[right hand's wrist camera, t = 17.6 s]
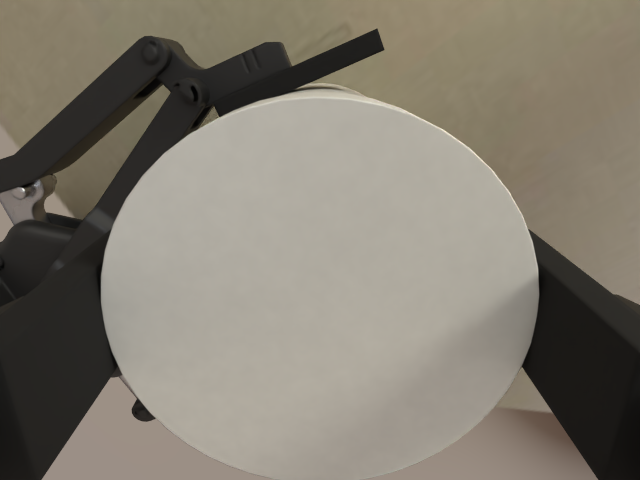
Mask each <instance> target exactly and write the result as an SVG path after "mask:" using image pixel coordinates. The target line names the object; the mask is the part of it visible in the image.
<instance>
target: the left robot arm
mask: <svg viewBox="0 0 640 480" xmlns="http://www.w3.org/2000/svg"><path fill="white" fill-rule="evenodd" d="M383 50H384V47H383V44H382V41H381V38H380V35H379V32H378V29H375V30H373V31H371V32H368V33H366V34H364V35H362V36H359V37H357V38H355V39H353V40H351V41H348V42H346V43H344V44H342V45H339V46H337V47H335V48H333V49H330V50H328V51H326V52H324V53H322V54H319V55H317V56H315V57H313V58H310V59H308V60H306V61H304V62H301V63H299V64H297V65H295V66H292V65H291V62H290V60H289V57H288V55H287V52H286V50H285V48H284V45H283V44H282V43H281V42H265V43H263V44H261V45H259V46H256V47H254V48H252V49H250V50H248V51H246V52H243V53H242V54H239V55H237V56H235V57H233V58H230V59H228V60H226V61H224V62H222V63H219V64H217V65H215V66H213V67H211V68H208V69H204V68H201V67H200V66H198V65H197V64H196V63H195V62H194V61H193V60H192V59H191V58H190V57H189V56H188V55H187V54H186V53H185V51H184V49H183V47H182V46H181V45H180V44H179V43H178V42H176V41H173V40H170V39H164V38H159V37H154V36H144V37H143V38H141V39H139V40H138V41H137V42H136V43H135V44H134V45H133V46H131V47H130V48H129V49H128V50H127V51H126V52H125V53H124V54H123V55H122V56H121V57H120V58H118V59H117V60H116V61H115V62H114V63H113V64H112V65H111V66H110V67H109V68H108V69H107V70H105V71H104V72H103V73H102V74H101V75H100V76H99V77H98V78H97V79H96V80H95V81H94V82H92V83H91V84H90V85H89V86H88V87H87V88H86V89H85V90H84V91H83V92H82V93H81V94H79V95H78V96H77V97H76V98H75V99H74V100H73V101H72V102H71V103H70V104H69V105H68V106H66V107H65V108H64V109H63V110H62V111H61V112H60V113H59V114H58V115H57V116H56V117H55V118H53V119H52V120H51V121H50V122H49V123H48V124H47V125H46V126H45V127H44V128H43V129H42V130H40V131H39V132H38V133H37V134H36V135H35V136H34V137H33V138H32V139H31V140H30V141H29V142H27V143H26V144H25V145H24V146H23V147H22V148H21V149H20V150H19V151H18V152H17V153H16V154H14V155H12V156H9V157H6V158H3V159H0V202H1V204H2V205H3V207H4V209H5V211H6V212H7V214H8V216H9V218H10V219H11V221H12V223H13V224H14V226H13V227H12V228H11V229H10V230H9V232H8V234H7V236H6V237H5V239H4V240H3V241H2V242H0V307H1V306H3V305H5V304H7V303H10V302H12V301H14V300H16V299H18V298H20V297H22V296H25V295H27V294H28V293H29V292H30V291H32V290H33V289H34V288H36V287H37V286H38V285H39V284H41V283H42V282H43V281H45V280H46V279H47V278H48V277H50V276H51V275H52V274H54V273H55V272H56V271H58V270H59V269H60V268H61V267H63V266H64V265H65V264H67V263H68V262H69V261H70V260H72V259H73V258H74V257H76V256H77V255H78V254H80V253H81V252H82V251H83V250H85V249H86V248H87V247H89V246H90V245H91V244H92V243H94V242H95V241H96V240H98V239H99V238H100V237H101V236H103V235H104V234H105V233H107V232H108V231H109V230H111V229H112V227H113V224H114V222H115V220H116V218H117V216H118V214H119V212H120V210H121V208H122V206H123V204H124V202H125V200H126V198H127V197H128V195H129V194H130V193H131V191H132V190H133V188H134V187H135V186H136V184H137V183H138V181H139V180H140V179H141V177H142V176H143V175H144V174H145V172H146V171H147V170H148V169H149V168H150V167H151V166H152V165H153V164H154V163H155V162H156V161H157V160H158V159H159V158H160V157H161V156H162V155H163V154H164V153H165V152H166V151H168V150H169V149H170V148H172V147H173V146H174V145H176V144H177V143H178V142H180V141H181V140H182V139H183V138H185V137H186V136H187V135H189V134H190V133H192V132H194V131H196V130H197V129H198V128H199V126H200V125H201V124H202V122H203V121H204V119H205V118H206V116H207V115H208V114H209V112H210V111H211V109H212V108H213V107H215V109H216V111H217V113H218V115H219V117H221V116H223V115H225V114H228V113H230V112H232V111H234V110H236V109H239V108H242V107H244V106H247V105H249V104H252V103H255V102H257V101H260V100H265V99H269V98H273V97H277V96H281V95H283V94H285V93H288V92H290V91H292V90H294V89H297V88H299V87H301V86H304V85H306V84H308V83H310V82H313V81H315V80H317V79H319V78H322V77H324V76H326V75H329V74H331V73H333V72H335V71H338V70H340V69H342V68H344V67H347V66H349V65H351V64H354V63H356V62H358V61H360V60H363V59H365V58H367V57H369V56H372V55H374V54H376V53H379V52H381V51H383ZM162 85H164V86H165V87H166V88H167V89H168V90H169V91H170V92H171V93H170V95H169V96H168V98H167V99H166V101H165V102H164V104H163V105H162V107H161V108H160V110H159V111H158V113H157V114H156V116H155V117H154V119H153V120H152V122H151V123H150V125H149V126H148V128H147V129H146V131H145V132H144V134H143V136H142V137H141V139H140V140H139V142H138V143H137V145H136V146H135V148H134V149H133V151H132V152H131V154H130V155H129V157H128V158H127V160H126V161H125V163H124V164H123V166H122V167H121V169H120V170H119V172H118V173H117V175H116V176H115V178H114V179H113V181H112V182H111V184H110V185H109V187H108V188H107V190H106V191H105V193H104V194H103V196H102V197H101V199H100V200H99V202H98V203H97V205H96V206H95V207H94V209H93V210H92V211H91V212H90V213H89V214H88V215H87V216H86V217H85V218H84V219H83V220H80V219H76V218H71V217H66V216H62V215H57V214H53V213H46V212H45V209H44V201H45V199H46V198H47V197H48V196H49V195H51V194H52V193H53V192H54V190H55V184H56V183H57V179H56V177H55V176H54V175H53V174H54V173H56V172H59V171H61V170H63V169H65V168H66V167H68V166H70V165H71V164H72V163H74V162H75V161H76V160H78V159H79V158H80V157H81V156H82V155H83V154H84V153H85V152H87V151H88V150H89V149H90V148H91V147H92V146H93V145H95V144H96V143H97V142H98V141H99V140H100V139H101V138H103V137H104V136H105V135H106V134H107V133H108V132H109V131H111V130H112V129H113V128H114V127H115V126H116V125H117V124H118V123H120V122H121V121H122V120H123V119H124V118H125V117H126V116H128V115H129V114H130V113H131V112H132V111H133V110H134V109H136V108H137V107H138V106H139V105H140V104H141V103H142V102H143V101H145V100H146V99H147V98H148V97H149V96H150V95H151V94H153V93H154V92H155V91H156V90H157V89H158V88H159V87H161V86H162ZM118 376H119V378H120V379H121V380H122V381H123V382H124V384H125V385H126V386H127V387H128V388H129V390H130V391H131V392H132V393H133V394H134V392H133V391H132V389H131V387H130V386H129V384H128V383H127V381H126V379H125V378H124V376H123V375H122V373H121V371H120V369H119V366H118V367H117V368H116V370H115V371H114V373H113V374H112V376H111V377H118ZM134 396H135V397H136V398H137V400H136V402H135V404H134V406H133V408H132V414H133V416H134V417H135V418H136V419H138V420H140V421H146V422H147V421H151V420H153V419H156V418H155V417H154V416H153V415H152V414H151V413H150V412H149V411H148V410H147V408H146V407H145V406H144V405H143V404H142V402H141V401H140V400H139V399H138V397H137V396H136V395H135V394H134Z"/></svg>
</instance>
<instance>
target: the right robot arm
mask: <svg viewBox="0 0 640 480" xmlns="http://www.w3.org/2000/svg"><path fill="white" fill-rule="evenodd" d="M111 230H112V229H111ZM111 230H109V231H108V232H107V233H105V234H104V235H103V236H101V237H100V238H99V239H98V240H96V241H95V242H94V243H92V244H91V245H90V246H89V247H87V248H86V249H85V250H83V251H82V252H81V253H80V254H78V255H77V256H76V257H74V258H73V259H72V260H70V261H69V262H68V263H67V264H65V265H64V266H63V267H61V268H60V269H59V270H58V271H56V272H55V273H54V274H52V275H51V276H50V277H48V278H47V279H46V280H45V281H43V282H42V283H41V284H39V285H38V286H37V287H36V288H34V289H33V290H32V291H30V292H29V293H28V294H27V295H25V296H22V297H20V298H18V299H16V300H14V301H12V302H10V303H7V304H5V305H3V306H1V307H0V480H41V479H42V478H43V476H44V475H45V474H46V472H47V471H48V469H49V468H50V466H51V465H52V463H53V462H54V460H55V459H56V457H57V456H58V454H59V453H60V451H61V450H62V448H63V447H64V445H65V444H66V442H67V441H68V439H69V438H70V437H71V435H72V434H73V432H74V431H75V429H76V428H77V426H78V425H79V423H80V422H81V420H82V419H83V417H84V416H85V414H86V413H87V411H88V410H89V408H90V407H91V405H92V404H93V402H94V401H95V399H96V398H97V397H98V395H99V394H100V392H101V390H102V389H103V388H104V386H105V385H106V383H107V382H108V380H109V379H110V377H111V376H112V374H113V373H114V371H115V370H116V368H117V367H118V364H117V362H116V360H115V358H114V355H113V353H112V351H111V348H110V344H109V341H108V338H107V334H106V330H105V325H104V320H103V314H102V307H101V272H102V266H103V260H104V254H105V249H106V245H107V242H108V239H109V236H110V233H111ZM528 231H529V234H530V236H531V239H532V242H533V246H534V251H535V256H536V261H537V266H538V277H539V303H538V312H537V318H536V323H535V328H534V333H533V337H532V341H531V345H530V347H529V349H528V352H527V354H526V357H525V359H524V362H523V364H522V367H523V369H524V370H525V372H526V373H527V375H528V376H529V378H530V379H531V381H532V382H533V384H534V385H535V387H536V388H537V390H538V391H539V393H540V394H541V396H542V397H543V399H544V400H545V401H546V403H547V404H548V406H549V407H550V409H551V410H552V412H553V413H554V415H555V416H556V418H557V419H558V421H559V422H560V424H561V425H562V427H563V428H564V430H565V431H566V433H567V434H568V436H569V437H570V438H571V440H572V441H573V443H574V444H575V446H576V447H577V449H578V450H579V452H580V453H581V455H582V456H583V458H584V459H585V461H586V462H587V464H588V465H589V467H590V468H591V469H592V471H593V472H594V474H595V475H596V477H597V478H598V480H640V305H638V304H636V303H634V302H632V301H630V300H628V299H626V298H623V297H621V296H619V295H613V294H612V293H611V292H609V291H608V290H607V289H605V288H604V287H603V286H602V285H600V284H599V283H598V282H596V281H595V280H594V279H592V278H591V277H590V276H589V275H587V274H586V273H585V272H583V271H582V270H581V269H580V268H578V267H577V266H576V265H574V264H573V263H572V262H570V261H569V260H568V259H567V258H565V257H564V256H563V255H561V254H560V253H559V252H558V251H556V250H555V249H554V248H552V247H551V246H550V245H549V244H547V243H546V242H545V241H543V240H542V239H541V238H539V237H538V236H537V235H536V234H534V233H533V232H532V231H530V230H529V229H528Z"/></svg>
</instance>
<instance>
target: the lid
mask: <svg viewBox="0 0 640 480" xmlns="http://www.w3.org/2000/svg"><path fill="white" fill-rule="evenodd" d="M538 303H539V277H538V266H537V261H536V256H535V251H534V246H533V242H532V239H531V236H530V234H529V231H528V228H527V225H526V223H525V220H524V217H523V215H522V214H521V212H520V210H519V208H518V206H517V205H516V203H515V201H514V199H513V197H512V196H511V194H510V192H509V191H508V189H507V188H506V187H505V186H504V184H503V183H502V182H501V180H500V179H499V178H498V177H497V175H496V174H495V173H494V172H493V170H492V169H491V168H490V167H489V166H488V165H487V164H486V163H485V162H484V161H483V160H482V159H481V158H480V157H478V156H477V155H476V154H475V153H474V152H473V151H472V150H471V149H470V148H469V147H468V146H466V145H465V144H463V143H462V142H460V141H459V140H457V139H456V138H455V137H453V136H452V135H450V134H449V133H447V132H446V131H445V130H443V129H441V128H439V127H437V126H435V125H433V124H431V123H429V122H427V121H425V120H423V119H421V118H419V117H417V116H415V115H413V114H411V113H409V112H407V111H405V110H403V109H401V108H399V107H396V106H393V105H391V104H388V103H385V102H382V101H379V100H376V99H373V98H368V97H362V96H357V95H352V94H346V93H331V92H307V93H296V94H286V95H282V96H277V97H273V98H269V99H265V100H260V101H257V102H255V103H252V104H249V105H247V106H244V107H242V108H239V109H236V110H234V111H232V112H230V113H228V114H225V115H223V116H221V117H219V118H217V119H216V120H214V121H212V122H210V123H208V124H207V125H205V126H203V127H201V128H199V129H198V130H196V131H194V132H192V133H190V134H189V135H187V136H186V137H185V138H183V139H182V140H181V141H180V142H178V143H177V144H176V145H174V146H173V147H172V148H170V149H169V150H168V151H166V152H165V153H164V154H163V155H162V156H161V157H160V158H159V159H158V160H157V161H156V162H155V163H154V164H153V165H152V166H151V167H150V168H149V169H148V170H147V171H146V172H145V174H144V175H143V176H142V177H141V179H140V180H139V181H138V183H137V184H136V186H135V187H134V188H133V190H132V191H131V193H130V194H129V195H128V197H127V198H126V200H125V202H124V204H123V206H122V208H121V210H120V212H119V214H118V216H117V218H116V220H115V222H114V224H113V227H112V230H111V233H110V236H109V239H108V242H107V245H106V249H105V254H104V260H103V266H102V272H101V307H102V314H103V320H104V325H105V330H106V334H107V338H108V341H109V344H110V348H111V351H112V353H113V355H114V358H115V360H116V362H117V364H118V366H119V369H120V371H121V373H122V375H123V376H124V378H125V379H126V381H127V383H128V384H129V386H130V387H131V389H132V391H133V392H134V394H135V395H136V396H137V397H138V399H139V400H140V401H141V402H142V404H143V405H144V406H145V407H146V408H147V410H148V411H149V412H150V413H151V414H152V415H153V416H154V417H155V418H156V419H157V420H158V421H159V422H160V423H161V424H162V425H163V426H164V427H166V428H167V429H168V430H169V431H170V432H172V433H173V434H174V435H176V436H177V437H178V438H180V439H181V440H182V441H184V442H185V443H186V444H188V445H189V446H191V447H193V448H194V449H196V450H198V451H200V452H201V453H203V454H205V455H206V456H208V457H210V458H212V459H215V460H217V461H219V462H221V463H223V464H226V465H228V466H230V467H233V468H236V469H239V470H242V471H245V472H248V473H251V474H254V475H258V476H263V477H267V478H271V479H276V480H362V479H369V478H374V477H377V476H381V475H385V474H389V473H392V472H396V471H398V470H401V469H404V468H406V467H409V466H412V465H414V464H417V463H419V462H421V461H423V460H425V459H427V458H429V457H431V456H433V455H435V454H437V453H439V452H441V451H442V450H444V449H445V448H447V447H448V446H450V445H451V444H453V443H455V442H456V441H458V440H459V439H460V438H462V437H463V436H464V435H465V434H467V433H468V432H469V431H470V430H472V429H473V428H474V427H475V426H476V425H478V424H479V423H480V422H481V421H482V420H483V419H484V418H485V417H486V415H487V414H488V413H489V412H490V411H491V410H492V409H493V408H494V407H495V406H496V405H497V403H498V402H499V401H500V399H501V398H502V397H503V395H504V394H505V393H506V392H507V390H508V389H509V388H510V386H511V384H512V382H513V381H514V379H515V377H516V375H517V374H518V372H519V370H520V368H521V367H522V364H523V362H524V359H525V357H526V354H527V352H528V349H529V347H530V345H531V341H532V337H533V333H534V328H535V323H536V318H537V312H538Z"/></svg>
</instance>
